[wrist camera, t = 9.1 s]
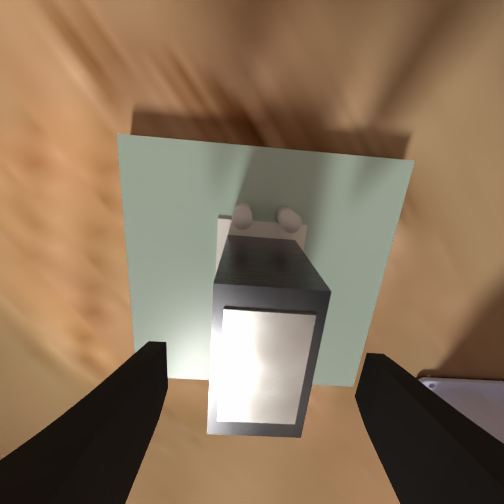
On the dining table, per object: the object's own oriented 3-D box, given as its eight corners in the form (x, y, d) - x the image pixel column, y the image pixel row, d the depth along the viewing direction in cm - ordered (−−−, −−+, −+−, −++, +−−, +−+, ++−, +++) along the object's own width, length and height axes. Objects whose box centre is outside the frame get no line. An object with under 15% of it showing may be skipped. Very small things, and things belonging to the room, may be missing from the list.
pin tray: (398, 161, 15) (451, 158, 11) (345, 371, 20) (369, 418, 16) (129, 137, 14) (86, 124, 10) (145, 361, 19) (120, 408, 15)
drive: (295, 240, 14) (332, 293, 8) (280, 338, 17) (301, 439, 10) (227, 234, 14) (212, 284, 8) (221, 335, 16) (206, 436, 10)
